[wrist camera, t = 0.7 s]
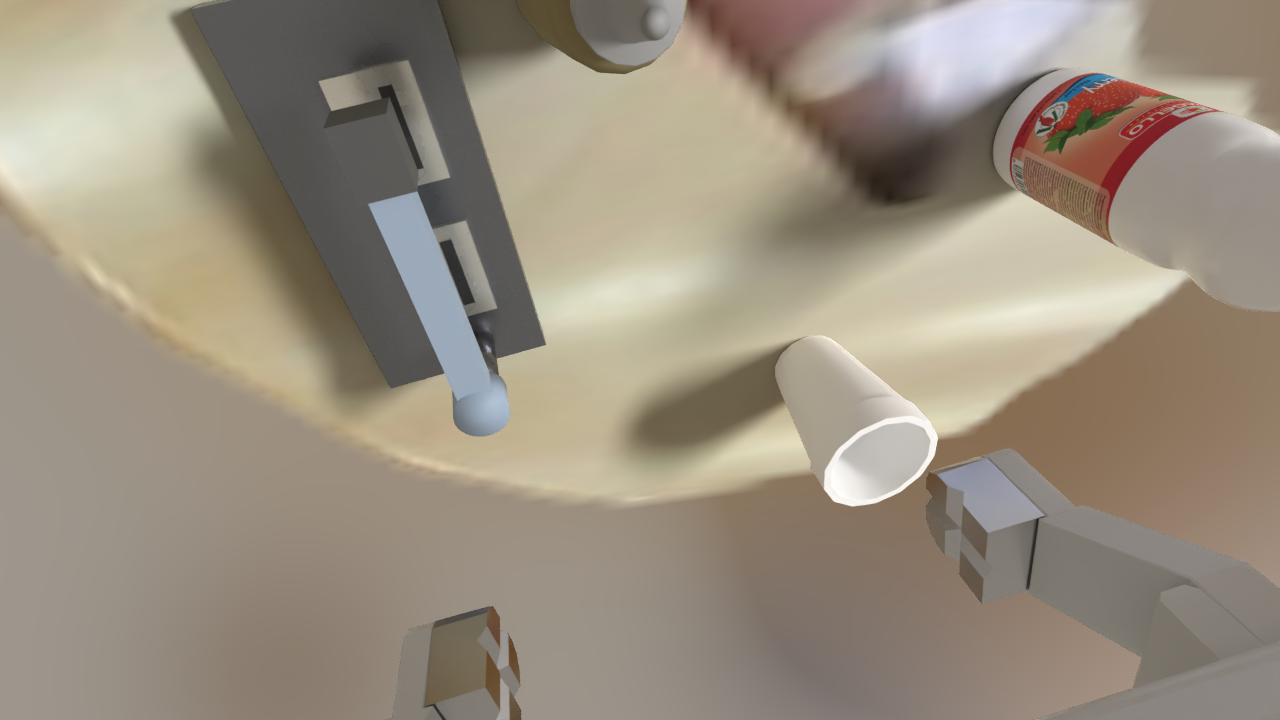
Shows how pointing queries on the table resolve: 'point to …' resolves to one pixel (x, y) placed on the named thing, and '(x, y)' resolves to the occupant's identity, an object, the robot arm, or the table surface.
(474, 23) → the table surface
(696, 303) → the table surface
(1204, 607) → the robot arm
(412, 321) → the switch panel
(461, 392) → the swing arm
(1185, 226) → the fruit juice
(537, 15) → the squeeze bottle
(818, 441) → the foam cup
